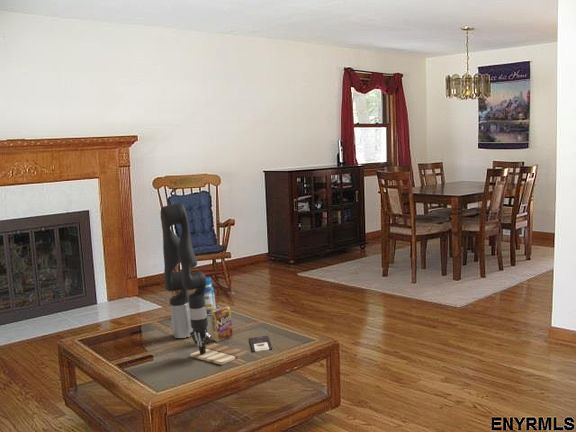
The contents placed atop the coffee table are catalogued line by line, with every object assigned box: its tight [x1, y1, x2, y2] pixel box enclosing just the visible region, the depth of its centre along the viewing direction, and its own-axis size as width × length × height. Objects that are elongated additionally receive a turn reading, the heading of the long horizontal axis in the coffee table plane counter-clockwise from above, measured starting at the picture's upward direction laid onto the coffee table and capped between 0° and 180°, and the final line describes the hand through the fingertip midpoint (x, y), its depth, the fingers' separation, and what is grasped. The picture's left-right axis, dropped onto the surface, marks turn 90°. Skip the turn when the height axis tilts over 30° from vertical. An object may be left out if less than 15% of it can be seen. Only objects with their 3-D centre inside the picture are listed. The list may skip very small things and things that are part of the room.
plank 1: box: [190, 349, 218, 361], centre depth 267 cm, size 10×8×1 cm
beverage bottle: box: [204, 277, 217, 316], centre depth 330 cm, size 8×8×20 cm
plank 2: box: [205, 352, 236, 366], centre depth 260 cm, size 10×8×1 cm
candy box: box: [210, 305, 234, 343], centre depth 286 cm, size 9×4×15 cm, turn 123°
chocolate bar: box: [249, 335, 273, 353], centre depth 275 cm, size 9×1×18 cm
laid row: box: [205, 342, 248, 360], centre depth 269 cm, size 22×6×1 cm, turn 49°
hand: (202, 353), depth 266 cm, fingers closed
